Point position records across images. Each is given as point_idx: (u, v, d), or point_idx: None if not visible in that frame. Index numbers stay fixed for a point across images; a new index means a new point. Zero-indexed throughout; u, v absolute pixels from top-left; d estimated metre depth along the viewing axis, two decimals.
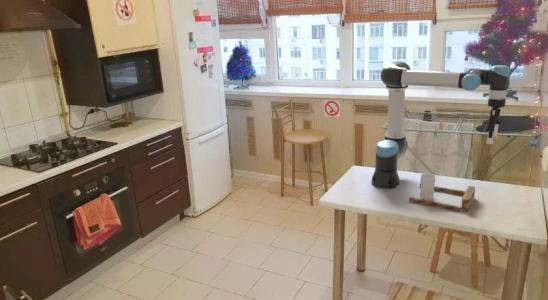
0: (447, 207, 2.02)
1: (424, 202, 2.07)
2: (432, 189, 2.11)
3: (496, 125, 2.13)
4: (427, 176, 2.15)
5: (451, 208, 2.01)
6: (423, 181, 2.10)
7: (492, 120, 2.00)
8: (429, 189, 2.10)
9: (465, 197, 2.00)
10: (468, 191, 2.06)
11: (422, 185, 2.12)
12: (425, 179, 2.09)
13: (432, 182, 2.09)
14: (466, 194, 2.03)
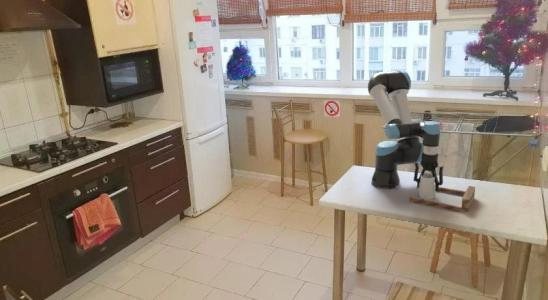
0: (447, 207, 2.02)
1: (424, 202, 2.07)
2: (432, 189, 2.11)
3: None
4: (427, 176, 2.15)
5: (451, 208, 2.01)
6: (423, 181, 2.10)
7: None
8: (429, 189, 2.10)
9: (465, 197, 2.00)
10: (468, 191, 2.06)
11: (422, 185, 2.12)
12: (425, 179, 2.09)
13: (432, 182, 2.09)
14: (466, 194, 2.03)
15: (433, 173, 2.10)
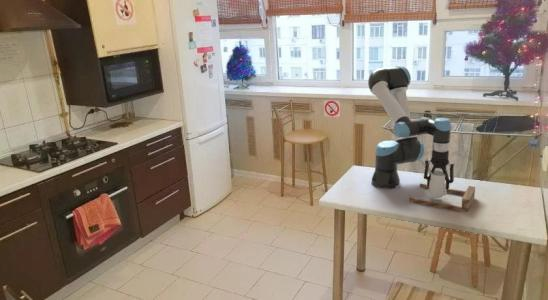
0: (447, 207, 2.02)
1: (424, 202, 2.07)
2: (442, 187, 2.07)
3: None
4: (437, 174, 2.11)
5: (451, 208, 2.01)
6: (433, 179, 2.07)
7: None
8: (439, 187, 2.07)
9: (465, 197, 2.00)
10: (468, 191, 2.06)
11: (432, 183, 2.08)
12: (435, 176, 2.06)
13: (442, 180, 2.06)
14: (466, 194, 2.03)
15: (444, 170, 2.06)
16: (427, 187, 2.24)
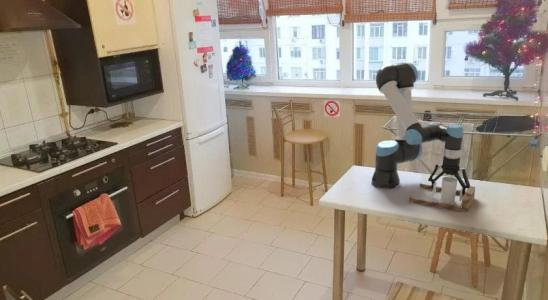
0: (447, 207, 2.02)
1: (424, 202, 2.07)
2: (454, 193, 2.05)
3: None
4: (448, 179, 2.09)
5: (451, 208, 2.01)
6: (445, 185, 2.05)
7: None
8: (451, 193, 2.05)
9: (465, 197, 2.00)
10: (468, 191, 2.06)
11: (443, 189, 2.06)
12: (447, 183, 2.04)
13: (454, 186, 2.04)
14: (466, 194, 2.03)
15: (457, 176, 2.04)
16: (427, 187, 2.24)
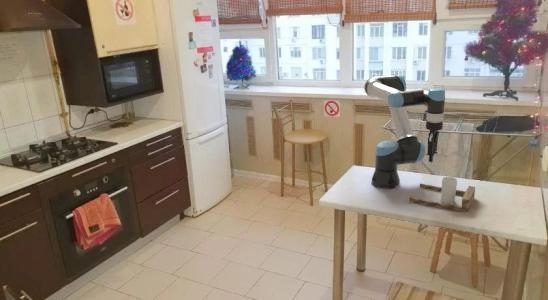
0: (447, 207, 2.02)
1: (424, 202, 2.07)
2: (454, 193, 2.05)
3: None
4: (448, 179, 2.09)
5: (451, 208, 2.01)
6: (445, 185, 2.05)
7: (430, 146, 2.03)
8: (451, 193, 2.05)
9: (465, 197, 2.00)
10: (468, 191, 2.06)
11: (443, 189, 2.06)
12: (447, 183, 2.04)
13: (454, 186, 2.04)
14: (466, 194, 2.03)
15: (436, 140, 2.07)
16: (427, 187, 2.24)
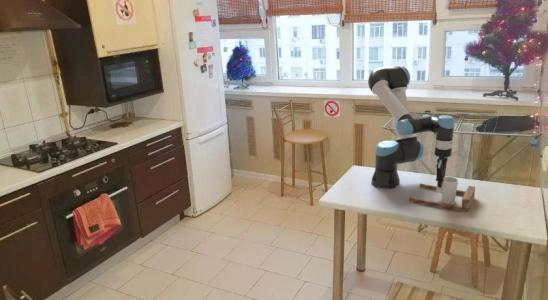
0: (447, 207, 2.02)
1: (424, 202, 2.07)
2: (454, 193, 2.05)
3: (441, 181, 2.10)
4: (449, 179, 2.09)
5: (451, 208, 2.01)
6: (445, 185, 2.05)
7: (439, 173, 2.04)
8: (451, 193, 2.05)
9: (465, 197, 2.00)
10: (468, 191, 2.06)
11: (444, 189, 2.06)
12: (448, 183, 2.04)
13: (455, 186, 2.04)
14: (466, 194, 2.03)
15: (445, 167, 2.08)
16: (427, 187, 2.24)
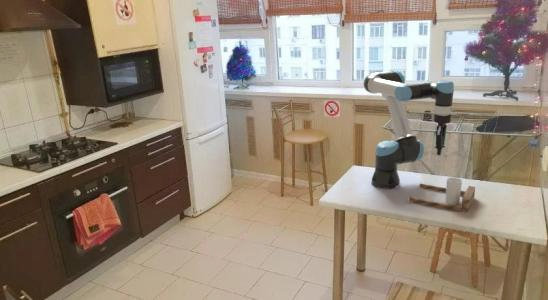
0: (447, 207, 2.02)
1: (424, 202, 2.07)
2: (458, 194, 2.04)
3: (440, 149, 2.06)
4: (453, 180, 2.08)
5: (451, 208, 2.01)
6: (449, 185, 2.04)
7: (438, 139, 2.00)
8: (455, 194, 2.04)
9: (465, 197, 2.00)
10: (468, 191, 2.06)
11: (448, 189, 2.05)
12: (451, 183, 2.03)
13: (458, 187, 2.03)
14: (466, 194, 2.03)
15: None
16: (427, 187, 2.24)
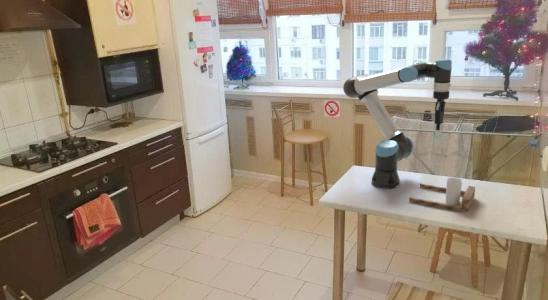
0: (447, 207, 2.02)
1: (424, 202, 2.07)
2: (458, 194, 2.04)
3: None
4: (453, 180, 2.08)
5: (451, 208, 2.01)
6: (449, 185, 2.04)
7: (437, 115, 2.12)
8: (455, 194, 2.04)
9: (465, 197, 2.00)
10: (468, 191, 2.06)
11: (448, 189, 2.05)
12: (451, 183, 2.03)
13: (459, 187, 2.03)
14: (466, 194, 2.03)
15: (443, 110, 2.15)
16: (427, 187, 2.24)
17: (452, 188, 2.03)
